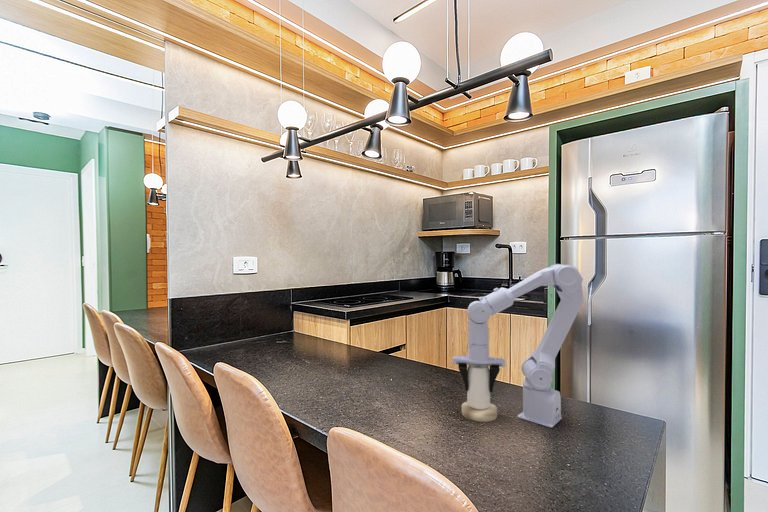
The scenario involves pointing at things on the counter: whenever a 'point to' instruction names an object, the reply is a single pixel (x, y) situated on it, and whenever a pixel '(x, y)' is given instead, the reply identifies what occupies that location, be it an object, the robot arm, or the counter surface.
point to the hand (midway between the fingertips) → (478, 390)
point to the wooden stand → (479, 413)
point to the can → (478, 387)
